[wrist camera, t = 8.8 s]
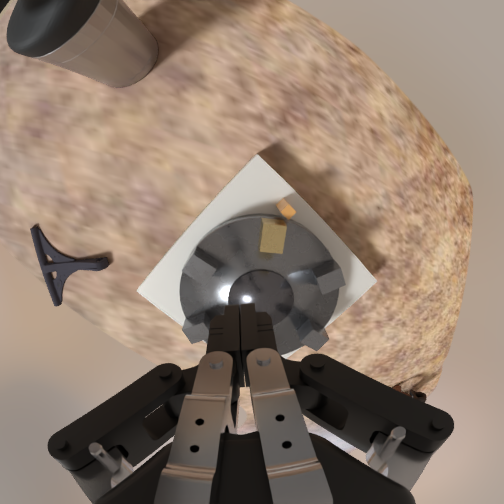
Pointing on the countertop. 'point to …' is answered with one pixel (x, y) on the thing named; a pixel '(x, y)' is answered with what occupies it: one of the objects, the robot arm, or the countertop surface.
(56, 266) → the bracket
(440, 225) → the countertop surface
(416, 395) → the pottery mug
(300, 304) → the shallow round grey dish
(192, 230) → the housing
